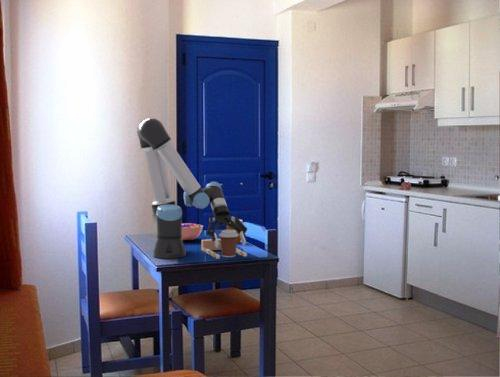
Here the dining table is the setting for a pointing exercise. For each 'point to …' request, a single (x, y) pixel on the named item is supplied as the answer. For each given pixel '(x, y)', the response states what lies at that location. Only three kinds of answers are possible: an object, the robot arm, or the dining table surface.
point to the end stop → (210, 244)
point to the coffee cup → (228, 243)
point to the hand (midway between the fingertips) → (231, 245)
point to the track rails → (219, 255)
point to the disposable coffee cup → (236, 232)
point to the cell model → (190, 231)
